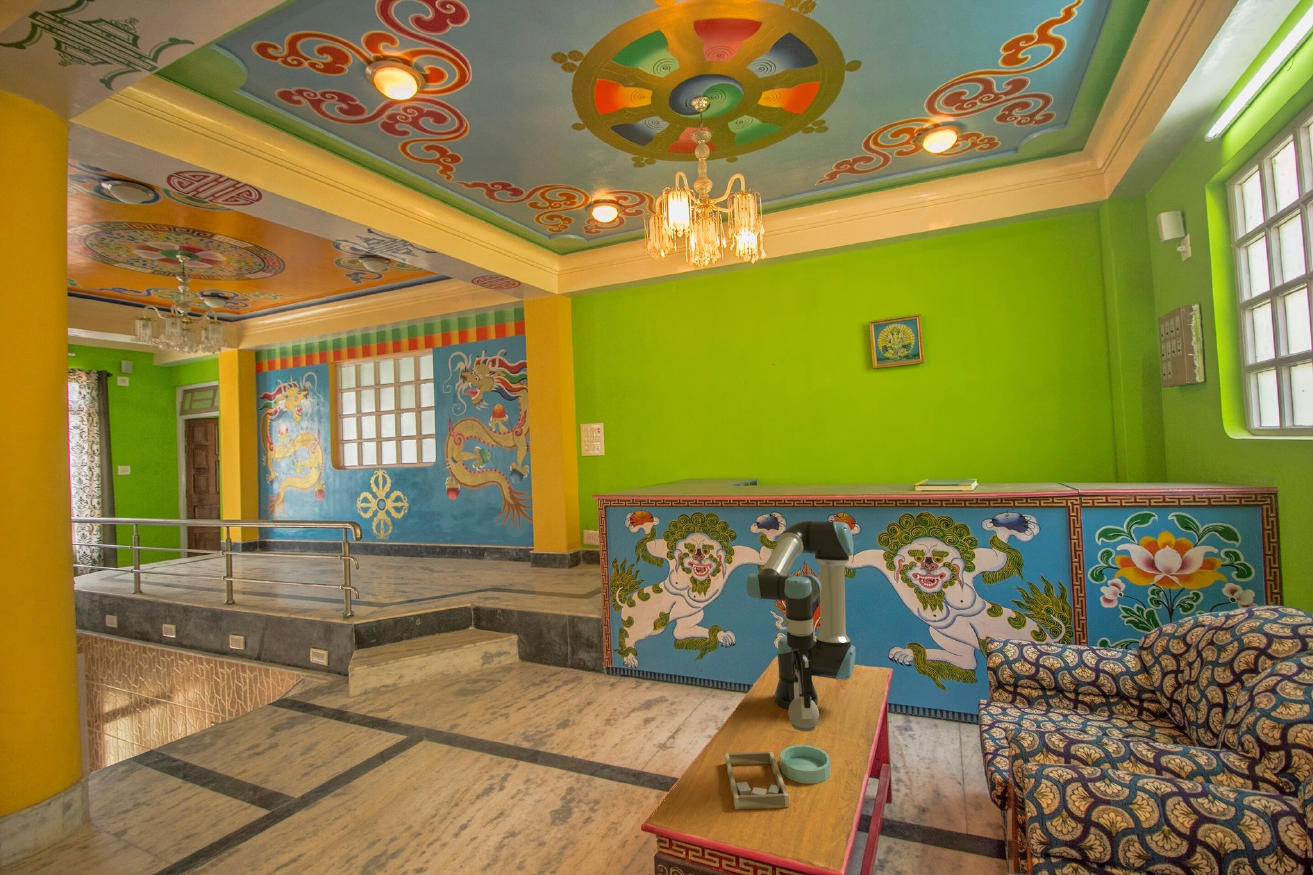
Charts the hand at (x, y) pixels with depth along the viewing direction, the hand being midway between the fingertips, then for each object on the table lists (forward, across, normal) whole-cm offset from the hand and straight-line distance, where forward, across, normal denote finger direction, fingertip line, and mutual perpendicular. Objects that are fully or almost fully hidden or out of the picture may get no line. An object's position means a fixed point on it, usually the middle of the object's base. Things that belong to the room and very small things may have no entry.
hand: (803, 711), depth 173 cm
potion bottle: (+4, 0, 0) cm, 4 cm away
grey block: (+17, +11, -19) cm, 28 cm away
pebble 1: (+17, +13, -16) cm, 27 cm away
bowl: (+17, 0, 0) cm, 17 cm away
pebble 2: (+17, +12, -11) cm, 24 cm away
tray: (+17, +6, -15) cm, 24 cm away
